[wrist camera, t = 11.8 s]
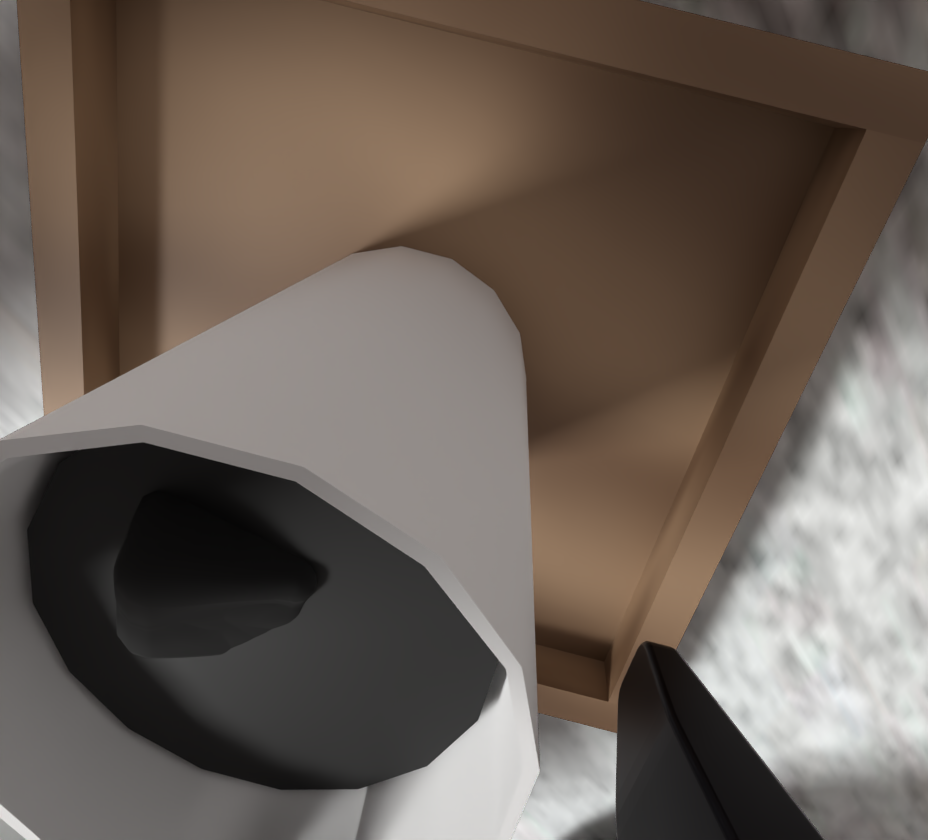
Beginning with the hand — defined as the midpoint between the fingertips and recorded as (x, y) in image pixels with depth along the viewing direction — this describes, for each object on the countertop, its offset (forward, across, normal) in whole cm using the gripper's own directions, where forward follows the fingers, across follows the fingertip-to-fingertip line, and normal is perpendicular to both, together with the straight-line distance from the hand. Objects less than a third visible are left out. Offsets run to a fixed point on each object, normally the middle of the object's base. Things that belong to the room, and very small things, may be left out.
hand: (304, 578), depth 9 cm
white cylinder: (+8, 0, 0) cm, 8 cm away
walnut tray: (+8, 0, 0) cm, 8 cm away
